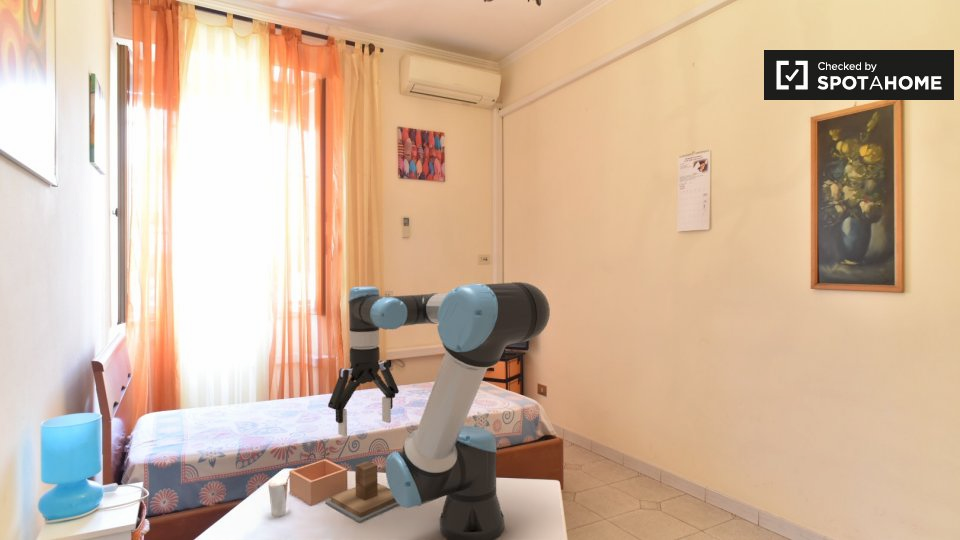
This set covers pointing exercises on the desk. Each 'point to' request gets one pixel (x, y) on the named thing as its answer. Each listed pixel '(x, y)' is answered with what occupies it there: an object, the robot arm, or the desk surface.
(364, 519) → the mat
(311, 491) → the open peach box
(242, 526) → the desk surface
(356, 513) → the lid
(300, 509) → the desk surface
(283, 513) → the milkshake
